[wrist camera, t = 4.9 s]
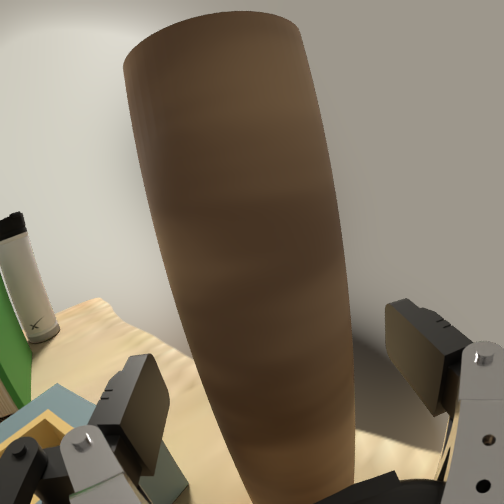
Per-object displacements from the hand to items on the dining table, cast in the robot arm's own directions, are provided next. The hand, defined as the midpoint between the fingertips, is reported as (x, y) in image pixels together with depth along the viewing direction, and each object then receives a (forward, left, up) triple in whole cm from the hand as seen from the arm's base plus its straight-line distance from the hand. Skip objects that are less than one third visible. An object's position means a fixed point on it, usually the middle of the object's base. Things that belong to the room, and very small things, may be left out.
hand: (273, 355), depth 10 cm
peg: (+1, -1, -11) cm, 11 cm away
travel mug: (-46, +9, -11) cm, 49 cm away
